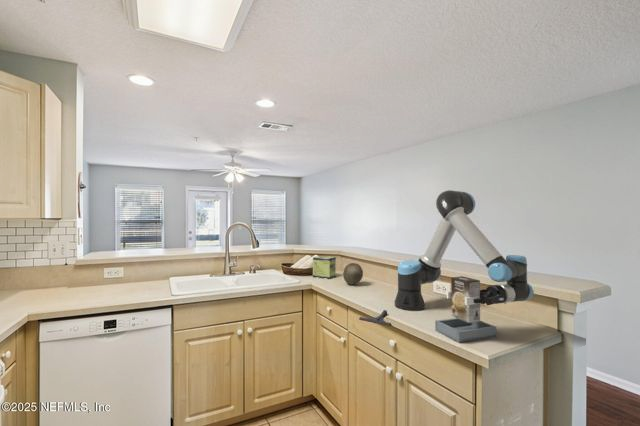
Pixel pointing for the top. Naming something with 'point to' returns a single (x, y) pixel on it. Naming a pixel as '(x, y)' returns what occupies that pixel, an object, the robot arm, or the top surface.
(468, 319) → the coffee box
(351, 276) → the dark brown ball
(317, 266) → the protein box
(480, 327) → the tray
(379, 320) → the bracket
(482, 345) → the top surface
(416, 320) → the top surface
